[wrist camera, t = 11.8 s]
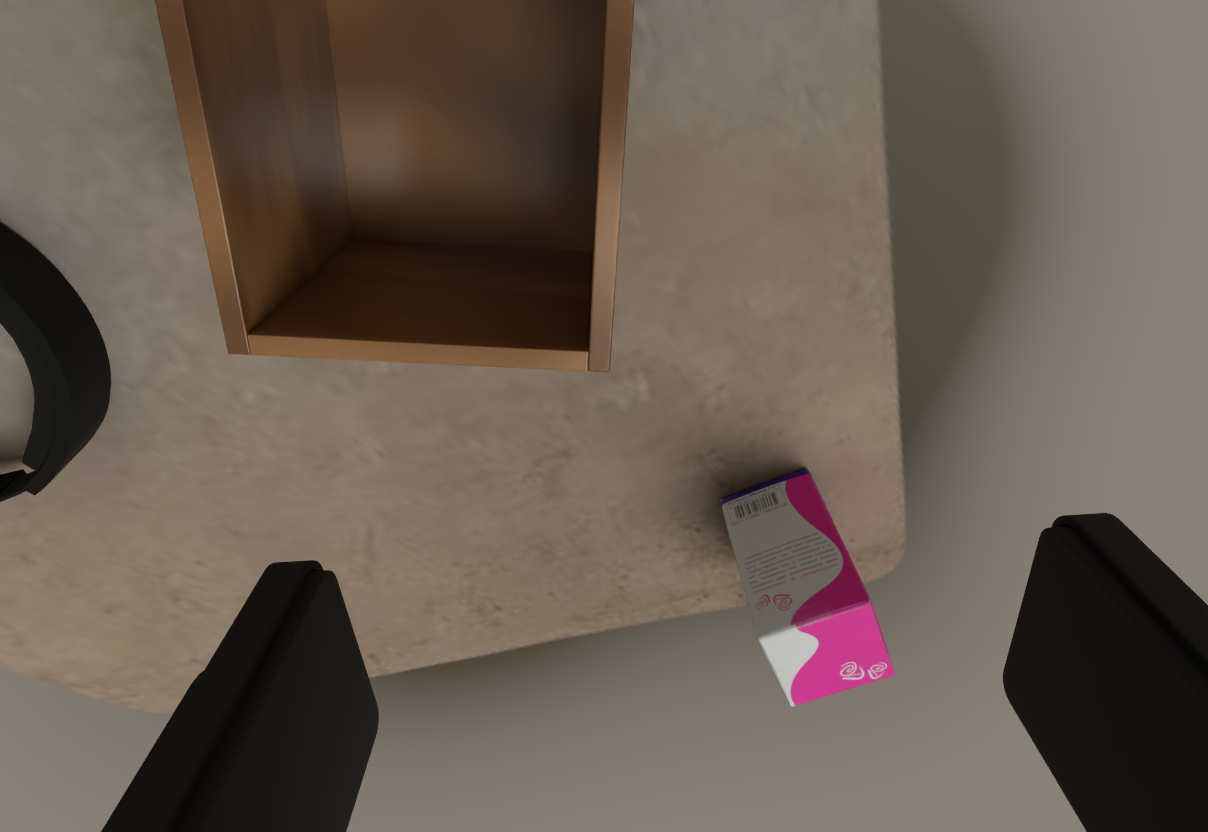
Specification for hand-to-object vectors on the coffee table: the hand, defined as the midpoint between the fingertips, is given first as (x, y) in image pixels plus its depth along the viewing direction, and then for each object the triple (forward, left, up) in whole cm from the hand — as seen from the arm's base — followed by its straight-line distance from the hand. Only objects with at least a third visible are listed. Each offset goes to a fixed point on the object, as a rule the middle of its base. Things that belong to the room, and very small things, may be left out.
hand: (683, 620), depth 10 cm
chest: (+5, -6, -30) cm, 31 cm away
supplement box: (0, +23, -30) cm, 38 cm away
